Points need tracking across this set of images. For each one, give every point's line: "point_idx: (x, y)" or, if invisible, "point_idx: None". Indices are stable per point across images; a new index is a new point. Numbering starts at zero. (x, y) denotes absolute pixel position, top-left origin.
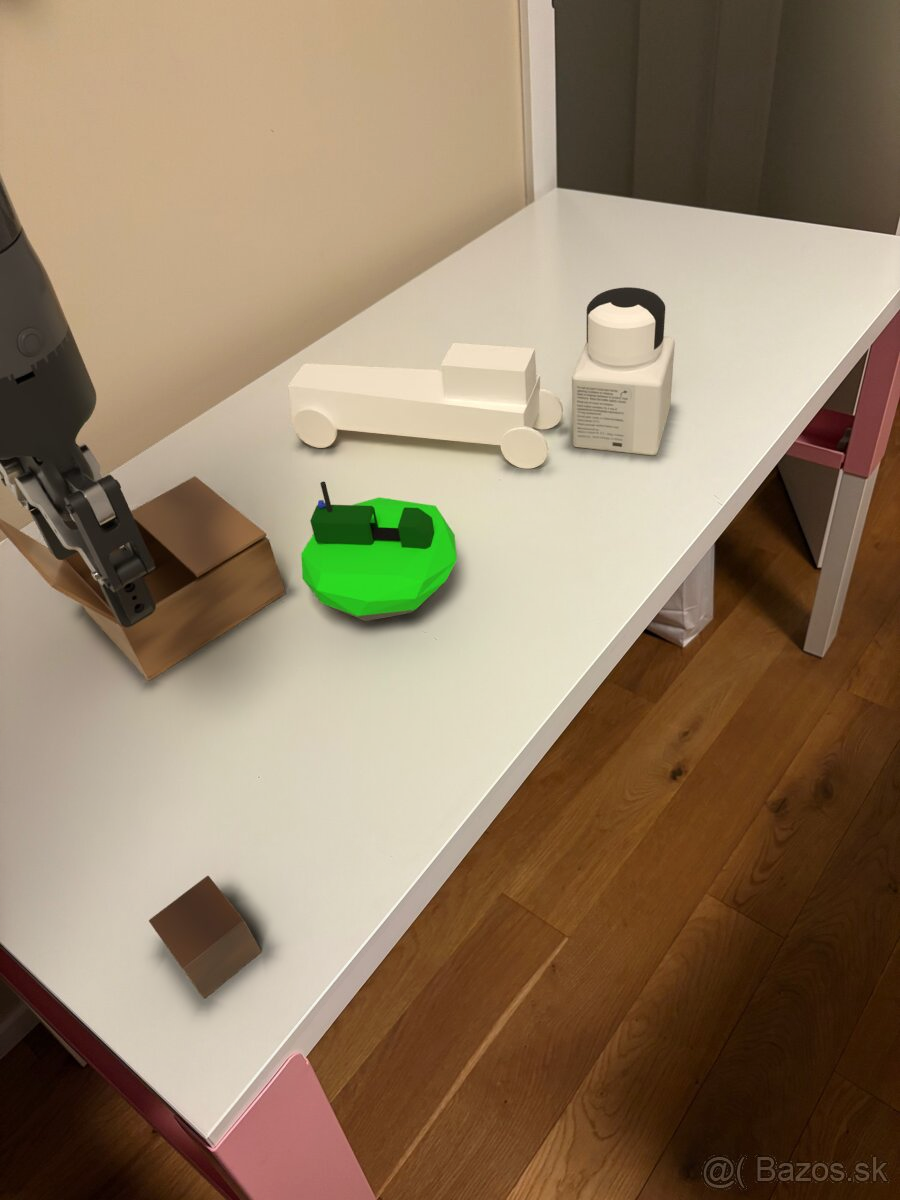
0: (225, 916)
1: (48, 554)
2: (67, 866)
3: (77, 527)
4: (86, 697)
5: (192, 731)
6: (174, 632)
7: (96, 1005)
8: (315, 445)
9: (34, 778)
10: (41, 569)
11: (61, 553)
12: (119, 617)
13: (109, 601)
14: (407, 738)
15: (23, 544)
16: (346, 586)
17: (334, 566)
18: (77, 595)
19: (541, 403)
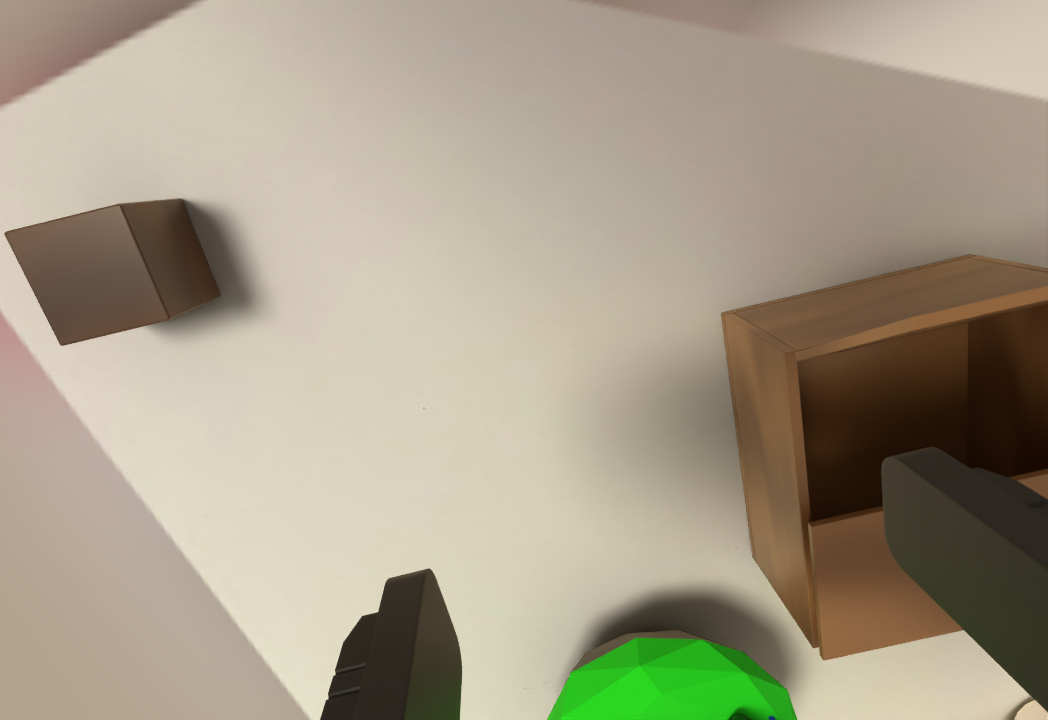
0: (80, 322)
1: None
2: (414, 80)
3: (951, 606)
4: (760, 202)
5: (569, 346)
6: (756, 407)
7: (134, 63)
8: (1034, 704)
9: (636, 65)
10: (1003, 309)
11: (899, 483)
12: (382, 610)
13: (375, 668)
14: (380, 599)
15: None
16: (609, 710)
17: (661, 716)
18: (871, 342)
19: None
